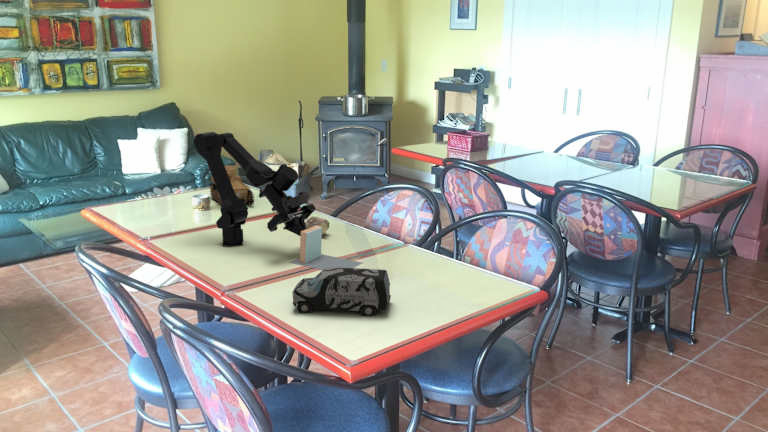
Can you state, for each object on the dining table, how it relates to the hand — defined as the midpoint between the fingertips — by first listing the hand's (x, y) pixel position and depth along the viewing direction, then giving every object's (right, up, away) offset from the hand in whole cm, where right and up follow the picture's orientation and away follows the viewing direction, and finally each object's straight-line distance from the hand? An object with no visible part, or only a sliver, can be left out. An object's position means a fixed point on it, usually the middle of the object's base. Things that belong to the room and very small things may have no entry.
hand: (307, 238), depth 200 cm
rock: (0, 0, +28) cm, 28 cm away
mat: (+6, -8, -2) cm, 10 cm away
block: (+1, -7, +1) cm, 7 cm away
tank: (-42, +12, +75) cm, 86 cm away
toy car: (+13, -17, -34) cm, 41 cm away
